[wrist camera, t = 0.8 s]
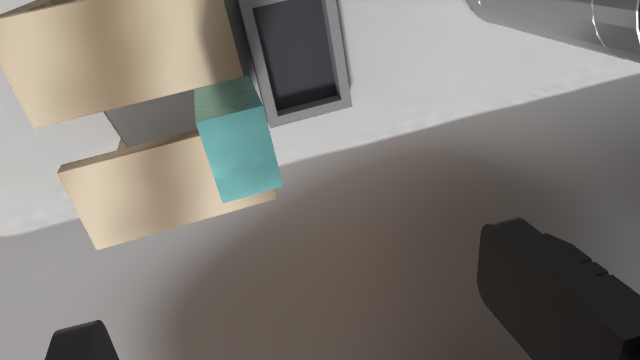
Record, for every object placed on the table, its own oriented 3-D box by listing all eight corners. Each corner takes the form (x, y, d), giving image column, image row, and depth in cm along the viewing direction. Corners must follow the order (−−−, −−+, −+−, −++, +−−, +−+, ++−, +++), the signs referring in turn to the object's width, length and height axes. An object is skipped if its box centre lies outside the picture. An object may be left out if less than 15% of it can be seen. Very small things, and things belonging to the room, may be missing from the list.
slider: (213, -17, 33) (243, 30, 16) (245, 102, 38) (296, 240, 20) (178, -10, 33) (170, 47, 16) (214, 110, 37) (240, 257, 20)
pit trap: (326, -24, 35) (332, -23, 34) (346, 100, 40) (352, 106, 39) (236, -4, 34) (238, -1, 33) (267, 121, 39) (270, 128, 38)
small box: (97, 24, 33) (63, 56, 24) (170, -8, 33) (165, 12, 24) (155, 122, 37) (145, 181, 28) (220, 93, 37) (231, 142, 28)
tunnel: (204, -40, 33) (216, -28, 21) (247, 117, 39) (276, 198, 27) (57, -9, 31) (-22, 23, 19) (125, 149, 37) (96, 250, 25)
